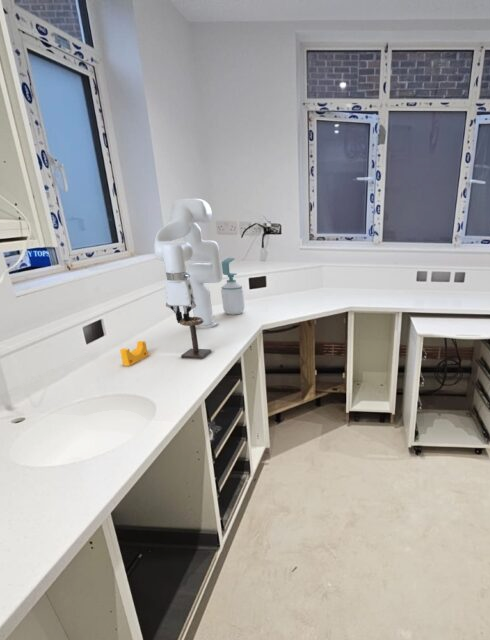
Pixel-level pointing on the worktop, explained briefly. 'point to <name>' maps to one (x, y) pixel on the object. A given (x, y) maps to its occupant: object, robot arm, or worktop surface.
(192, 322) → the ring
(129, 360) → the pipe clamp
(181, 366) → the worktop surface
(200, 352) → the post
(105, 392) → the worktop surface
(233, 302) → the soap bottle
